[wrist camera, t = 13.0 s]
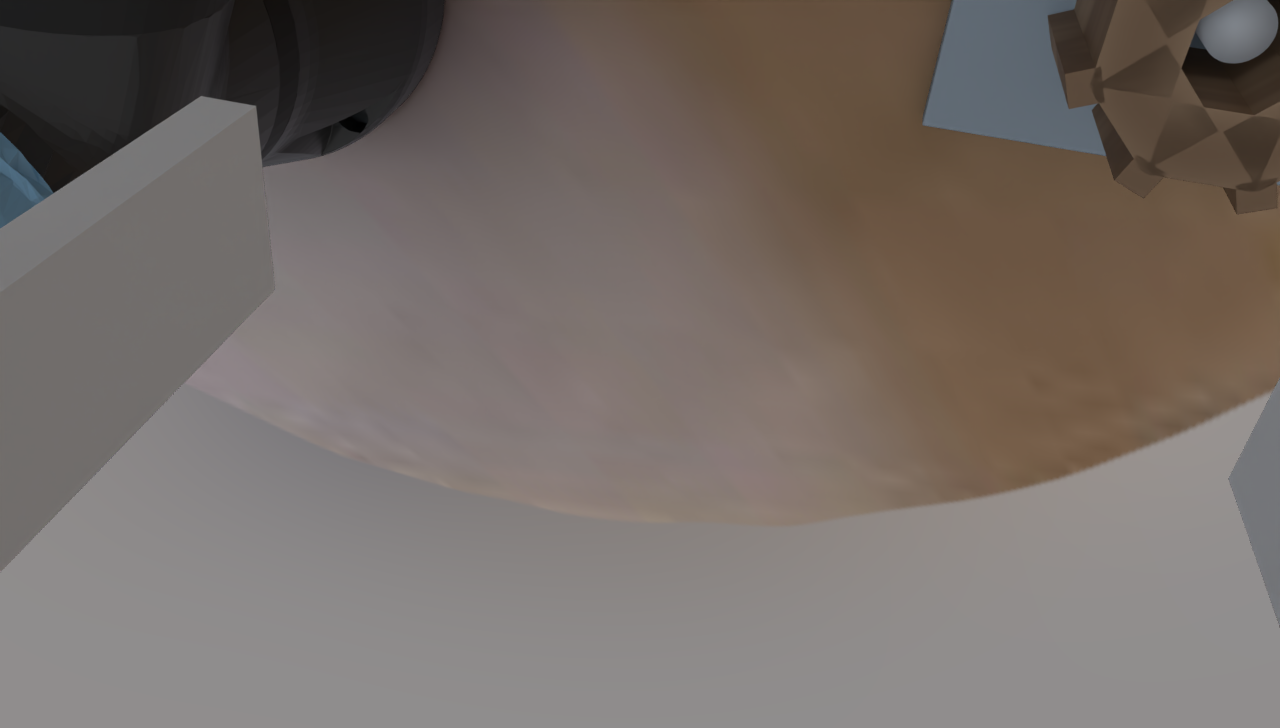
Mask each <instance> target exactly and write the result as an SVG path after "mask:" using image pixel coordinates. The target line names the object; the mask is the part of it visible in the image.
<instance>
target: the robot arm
mask: <svg viewBox="0 0 1280 728" xmlns="http://www.w3.org/2000/svg"><path fill="white" fill-rule="evenodd" d="M443 11H444V0H0V572H1V571H2V570H3V569H4V568H5V567H6V566H7V565H8V564H9V563H10V562H11V561H12V560H13V559H14V558H15V556H17V555H18V554H19V552H21V550H22V549H23V548H24V547H25V546H26V545H27V544H28V543H29V542H30V541H31V540H32V539H33V538H34V537H35V536H36V535H37V534H38V533H39V532H40V531H41V530H42V529H43V528H44V527H45V526H46V525H47V524H48V523H49V522H50V521H51V520H52V519H53V518H54V517H55V515H56V514H57V513H58V512H59V511H60V510H61V509H62V508H63V507H64V506H65V505H66V504H67V503H68V502H69V501H70V500H71V499H72V498H73V497H74V496H75V495H76V494H77V493H78V492H79V491H80V490H81V489H82V487H83V486H85V485H86V484H87V483H88V481H89V480H90V479H91V478H92V477H93V476H94V475H95V474H96V473H97V472H98V471H99V470H100V469H101V468H102V467H103V466H104V465H105V464H106V463H107V462H108V461H109V460H110V459H111V458H112V457H113V456H114V455H115V454H116V453H117V452H118V451H119V450H120V448H121V447H122V446H123V445H124V444H125V443H126V442H127V441H128V440H129V439H130V438H131V437H132V436H133V435H134V434H135V433H136V432H137V431H138V430H139V429H140V428H141V427H142V426H143V425H144V424H145V423H146V422H147V421H148V420H149V419H150V418H151V417H152V416H153V414H154V413H155V412H156V411H157V410H158V409H159V408H160V407H161V406H162V405H163V404H164V403H165V402H166V401H167V400H168V399H169V398H170V397H171V396H172V395H173V394H174V393H175V392H176V391H177V390H178V389H179V388H180V387H181V385H183V384H184V383H185V382H186V381H187V380H188V379H189V377H190V376H191V375H192V374H193V373H194V372H195V371H196V370H197V369H198V368H199V367H200V366H201V365H202V364H203V363H204V362H205V361H206V360H207V359H208V358H209V357H210V356H211V355H212V354H213V353H214V352H215V351H216V350H217V349H218V348H219V347H220V346H221V345H222V343H223V342H224V341H225V340H226V339H227V338H228V337H229V336H230V335H231V334H232V333H233V332H234V331H235V330H236V329H237V328H238V327H239V326H240V325H241V324H242V323H243V322H244V321H245V320H246V319H247V318H248V317H249V316H250V315H251V314H252V313H253V312H254V311H255V310H256V308H257V307H258V306H259V305H260V304H261V303H262V302H263V301H264V300H265V299H266V298H267V297H268V296H269V295H270V294H271V293H272V292H273V291H274V290H275V281H274V271H273V262H272V252H271V243H270V234H269V224H268V215H267V205H266V196H265V186H264V177H263V167H266V166H271V165H277V164H283V163H289V162H294V161H300V160H306V159H311V158H316V157H320V156H324V155H326V154H329V153H332V152H335V151H338V150H340V149H342V148H344V147H346V146H348V145H350V144H352V143H354V142H356V141H357V140H359V139H361V138H363V137H364V136H365V135H367V134H368V133H370V132H371V131H372V130H374V129H375V128H376V127H377V126H378V125H379V124H381V123H382V122H383V121H384V120H385V119H386V118H387V117H388V116H389V115H390V114H392V113H393V112H394V111H395V110H396V109H397V108H398V107H399V106H400V105H401V104H402V103H403V102H404V101H405V100H406V99H407V98H408V96H409V95H410V94H411V93H412V92H413V90H414V89H415V88H416V86H417V85H418V83H419V82H420V80H421V79H422V77H423V75H424V73H425V71H426V70H427V68H428V65H429V63H430V61H431V59H432V56H433V54H434V51H435V48H436V45H437V42H438V38H439V34H440V30H441V25H442V19H443ZM1229 482H1230V485H1231V488H1232V491H1233V493H1234V496H1235V499H1236V502H1237V505H1238V508H1239V511H1240V514H1241V517H1242V520H1243V522H1244V525H1245V528H1246V531H1247V534H1248V536H1249V539H1250V543H1251V545H1252V548H1253V551H1254V554H1255V557H1256V560H1257V563H1258V566H1259V568H1260V572H1261V574H1262V577H1263V580H1264V583H1265V586H1266V589H1267V591H1268V595H1269V598H1270V600H1271V603H1272V606H1273V609H1274V612H1275V615H1276V618H1277V621H1278V623H1279V626H1280V378H1279V380H1278V382H1277V384H1276V386H1275V388H1274V390H1273V392H1272V394H1271V396H1270V398H1269V400H1268V402H1267V404H1266V406H1265V408H1264V410H1263V412H1262V414H1261V416H1260V418H1259V420H1258V422H1257V424H1256V425H1255V427H1254V429H1253V431H1252V433H1251V435H1250V437H1249V439H1248V441H1247V443H1246V445H1245V447H1244V449H1243V451H1242V453H1241V455H1240V457H1239V459H1238V461H1237V463H1236V465H1235V467H1234V469H1233V471H1232V473H1231V475H1230V476H1229Z"/></svg>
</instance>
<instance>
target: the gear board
mask: <svg viewBox="0 0 1280 728" xmlns="http://www.w3.org/2000/svg"><path fill="white" fill-rule="evenodd" d="M1076 2H1077V0H952V1H951V5H950V9H949V13H948V17H947V21H946V25H945V29H944V33H943V37H942V41H941V45H940V50H939V54H938V58H937V62H936V66H935V70H934V74H933V78H932V82H931V86H930V90H929V94H928V98H927V102H926V106H925V110H924V114H923V125H924V126H930V127H936V128H942V129H948V130H954V131H960V132H966V133H972V134H978V135H984V136H990V137H996V138H1002V139H1008V140H1014V141H1020V142H1026V143H1032V144H1038V145H1043V146H1049V147H1055V148H1061V149H1067V150H1073V151H1079V152H1085V153H1091V154H1097V155H1103V156H1106V153H1105V150H1104V147H1103V144H1102V141H1101V138H1100V135H1099V132H1098V129H1097V126H1096V123H1095V120H1094V117H1093V113H1092V109H1093V108H1094V107H1095V106H1096V105H1097V104H1093V105H1088V106H1083V107H1078V108H1073V109H1069V108H1068V105H1067V101H1066V98H1065V94H1064V91H1063V87H1062V83H1061V80H1060V76H1059V73H1058V69H1057V66H1056V62H1055V59H1054V55H1053V51H1052V48H1051V41H1050V33H1049V24H1048V16H1047V15H1051V14H1056V13H1060V12H1065V11H1069V10H1073V9H1074V8H1075V5H1076ZM1277 29H1278V17H1277V13H1276V11H1275V9H1274V8H1273V6H1272V5H1271V4H1270V3H1269V2H1268V1H1267V0H1233V1H1231V2H1229V3H1228V4H1226V5H1224V6H1223V7H1221V8H1219V9H1218V10H1216V11H1214V12H1213V13H1211V14H1209V15H1207V16H1206V17H1204V18H1202V19H1201V20H1199V23H1198V25H1197V28H1196V31H1195V33H1194V36H1193V39H1192V41H1191V44H1190V47H1193V48H1200V49H1206V50H1207V51H1208V52H1209V54H1210V55H1211V56H1213V57H1214V58H1215V59H1217V60H1219V61H1221V62H1225V63H1242V62H1246V61H1249V60H1251V59H1253V58H1255V57H1257V56H1259V55H1260V54H1261V53H1263V52H1264V51H1265V50H1266V49H1267V48H1268V47H1269V46H1270V44H1271V43H1272V41H1273V40H1274V38H1275V36H1276V33H1277ZM1277 185H1280V181H1279V182H1277Z"/></svg>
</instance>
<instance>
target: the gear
mask: <svg viewBox="0 0 1280 728" xmlns="http://www.w3.org/2000/svg"><path fill="white" fill-rule="evenodd" d="M1231 1H1233V0H1077V2H1076V5H1075V8H1074V9H1073V10H1069V11H1065V12H1060V13H1056V14H1051V15H1047V16H1048V24H1049V33H1050V41H1051V48H1052V51H1053V55H1054V59H1055V62H1056V66H1057V69H1058V73H1059V76H1060V80H1061V83H1062V87H1063V91H1064V94H1065V98H1066V101H1067V105H1068V108H1069V109H1073V108H1078V107H1083V106H1088V105H1093V104H1097V105H1096V106H1095V107H1094V108H1093V109H1092V113H1093V117H1094V120H1095V123H1096V126H1097V129H1098V132H1099V135H1100V138H1101V141H1102V144H1103V147H1104V150H1105V153H1106V156H1107V159H1108V162H1109V165H1110V169H1111V172H1112V175H1113V178H1114V180H1115V181H1116V182H1118V183H1119V184H1121V185H1123V186H1124V187H1126V188H1127V189H1129V190H1131V191H1132V192H1134V193H1136V194H1137V195H1139V196H1140V197H1142V198H1145V197H1146V196H1147V194H1148V193H1149V192H1150V191H1151V190H1152V189H1153V188H1154V187H1155V186H1156V185H1157V184H1158V183H1159V182H1160V180H1161V179H1162V178H1163V177H1165V178H1171V179H1177V180H1183V181H1189V182H1195V183H1201V184H1207V185H1213V186H1219V187H1223V188H1224V190H1225V192H1226V194H1227V196H1228V198H1229V200H1230V202H1231V204H1232V206H1233V208H1234V210H1235V212H1236V214H1243V213H1249V212H1255V211H1262V210H1268V209H1274V208H1277V182H1279V181H1280V0H1267V1H1268V2H1269V3H1270V4H1271V5H1272V6H1273V8H1274V9H1275V11H1276V13H1277V17H1278V29H1277V33H1276V36H1275V38H1274V40H1273V41H1272V43H1271V44H1270V46H1269V47H1268V48H1267V49H1266V50H1265V51H1264V52H1263V53H1261V54H1260V55H1259V56H1257V57H1255V58H1253V59H1251V60H1249V61H1246V62H1242V63H1225V62H1221V61H1219V60H1217V59H1215V58H1214V57H1213V56H1211V55H1210V54H1209V52H1208V51H1207V50H1206V49H1200V48H1193V47H1190V44H1191V41H1192V39H1193V36H1194V33H1195V31H1196V28H1197V25H1198V23H1199V20H1201V19H1202V18H1204V17H1206V16H1207V15H1209V14H1211V13H1213V12H1214V11H1216V10H1218V9H1219V8H1221V7H1223V6H1224V5H1226V4H1228V3H1229V2H1231Z"/></svg>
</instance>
